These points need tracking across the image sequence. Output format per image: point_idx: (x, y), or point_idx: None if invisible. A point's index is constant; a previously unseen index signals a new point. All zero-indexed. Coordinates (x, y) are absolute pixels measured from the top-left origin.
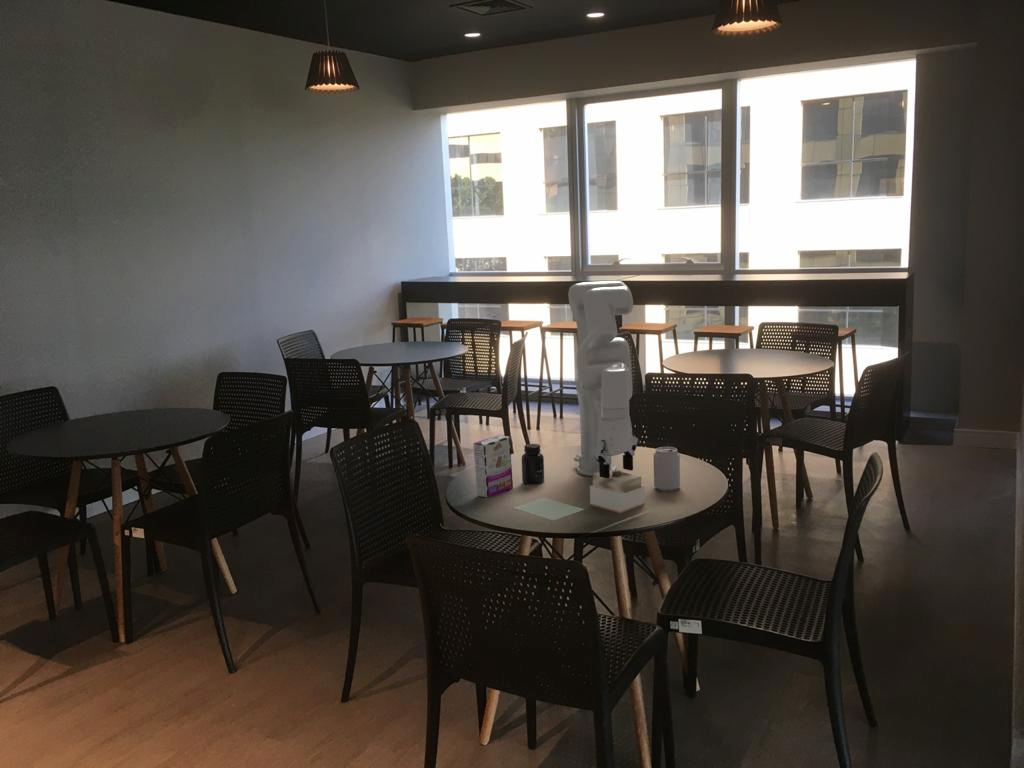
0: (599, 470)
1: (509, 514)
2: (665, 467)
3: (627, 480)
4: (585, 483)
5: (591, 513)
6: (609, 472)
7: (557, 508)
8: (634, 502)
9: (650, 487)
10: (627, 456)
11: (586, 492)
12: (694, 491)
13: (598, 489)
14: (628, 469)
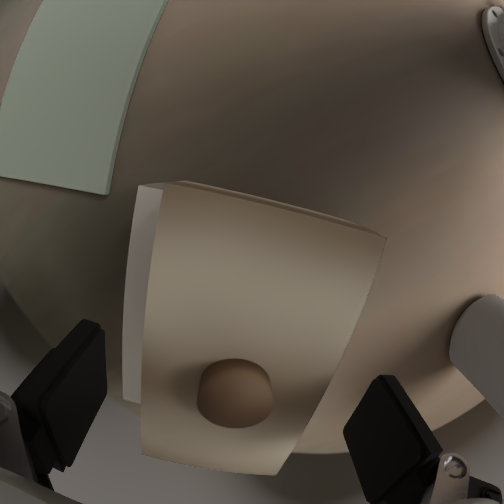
0: (59, 344)
1: (18, 21)
2: (491, 393)
3: (170, 456)
4: (436, 41)
5: (106, 233)
6: (91, 420)
7: (71, 93)
8: None
9: (476, 281)
10: (394, 485)
11: (354, 69)
12: (451, 392)
13: (129, 262)
14: (353, 416)
